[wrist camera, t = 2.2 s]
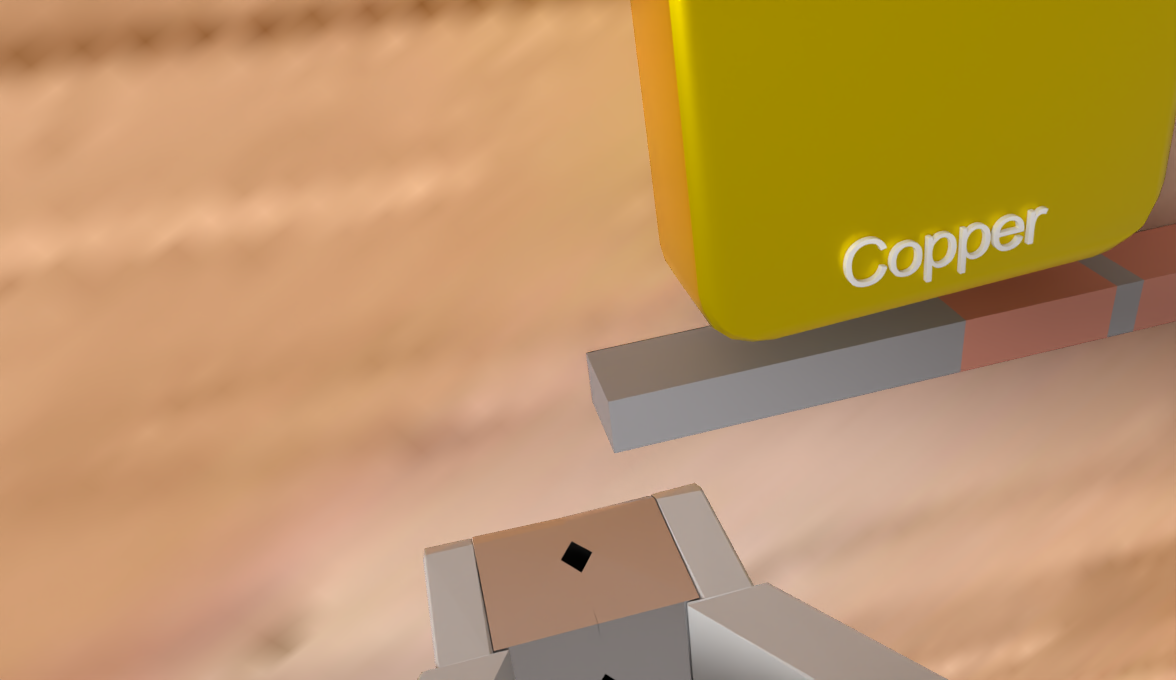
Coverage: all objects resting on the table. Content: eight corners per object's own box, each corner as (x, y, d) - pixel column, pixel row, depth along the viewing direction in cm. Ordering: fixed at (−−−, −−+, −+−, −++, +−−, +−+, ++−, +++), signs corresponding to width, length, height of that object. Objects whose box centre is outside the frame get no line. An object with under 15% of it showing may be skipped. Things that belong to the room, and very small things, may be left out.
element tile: (663, 297, 32) (711, 370, 28) (599, -219, 24) (653, -221, 20) (1069, 195, 34) (1170, 251, 29) (1133, -315, 26) (1282, -335, 22)
